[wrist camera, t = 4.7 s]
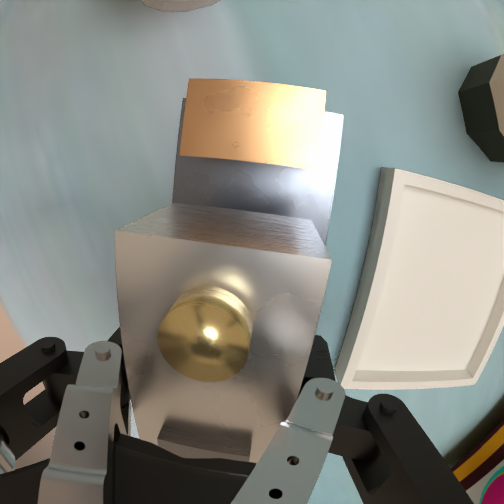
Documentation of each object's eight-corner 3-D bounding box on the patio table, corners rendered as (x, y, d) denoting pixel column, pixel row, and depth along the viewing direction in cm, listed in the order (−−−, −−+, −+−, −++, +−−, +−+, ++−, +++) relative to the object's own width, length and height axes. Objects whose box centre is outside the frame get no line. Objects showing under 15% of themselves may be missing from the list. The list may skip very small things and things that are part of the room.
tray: (381, 167, 18) (394, 168, 16) (518, 207, 18) (536, 213, 15) (334, 368, 23) (339, 388, 21) (464, 369, 22) (474, 384, 20)
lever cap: (174, 202, 11) (92, 241, 6) (311, 219, 11) (340, 276, 5) (174, 400, 14) (140, 484, 9) (270, 416, 14) (264, 508, 8)
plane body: (205, 113, 18) (152, 79, 10) (327, 126, 18) (366, 98, 9) (189, 368, 24) (156, 447, 16) (283, 382, 24) (281, 469, 15)
